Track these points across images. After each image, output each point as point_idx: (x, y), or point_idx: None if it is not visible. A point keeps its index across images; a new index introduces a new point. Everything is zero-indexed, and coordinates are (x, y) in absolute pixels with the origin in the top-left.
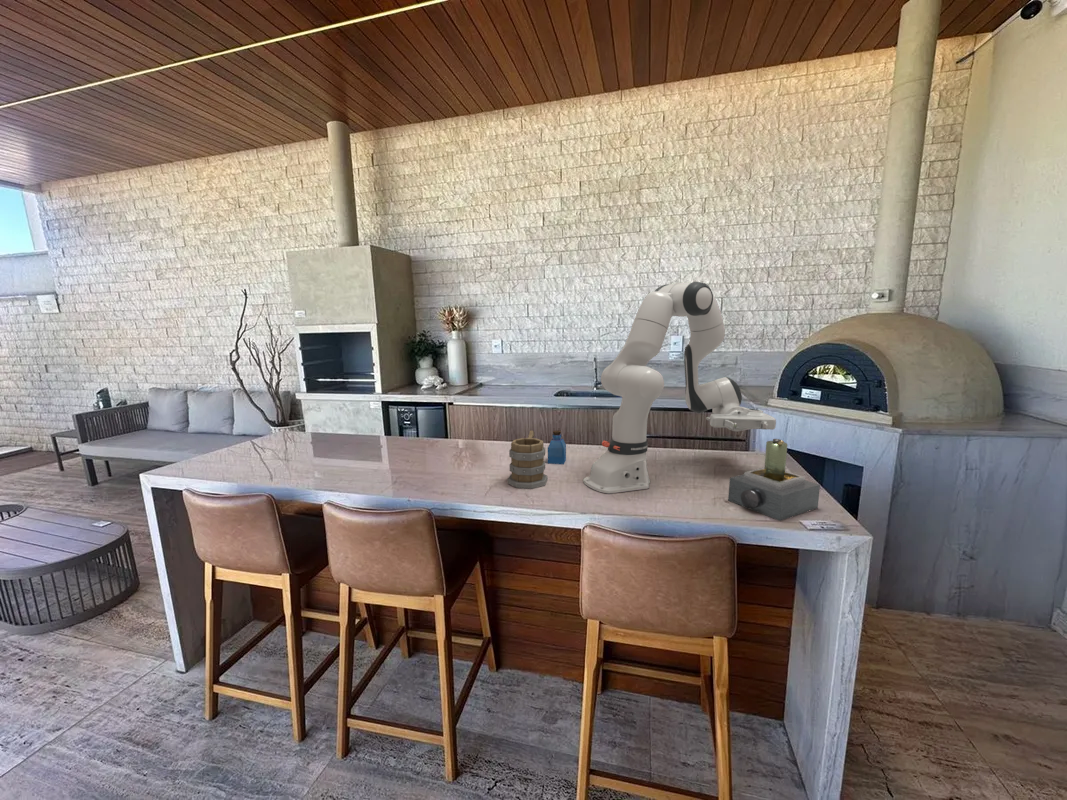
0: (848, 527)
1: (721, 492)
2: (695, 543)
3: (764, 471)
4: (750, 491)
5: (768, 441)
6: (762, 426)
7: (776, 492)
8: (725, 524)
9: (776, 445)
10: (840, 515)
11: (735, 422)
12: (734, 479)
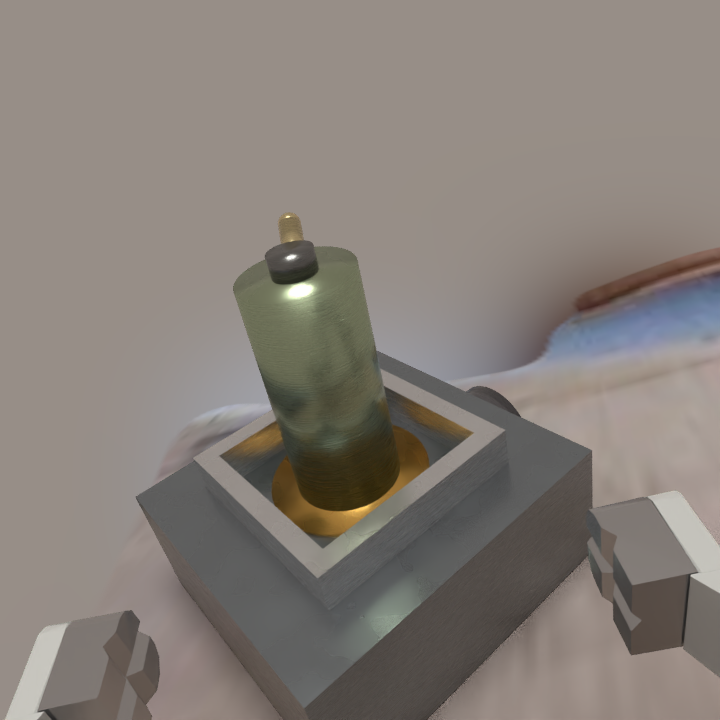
0: (185, 457)
1: (651, 665)
2: (645, 272)
3: (391, 430)
4: (486, 388)
5: (334, 282)
6: (126, 670)
7: (386, 365)
8: (580, 362)
9: (318, 247)
10: (136, 539)
11: (619, 562)
12: (562, 437)
